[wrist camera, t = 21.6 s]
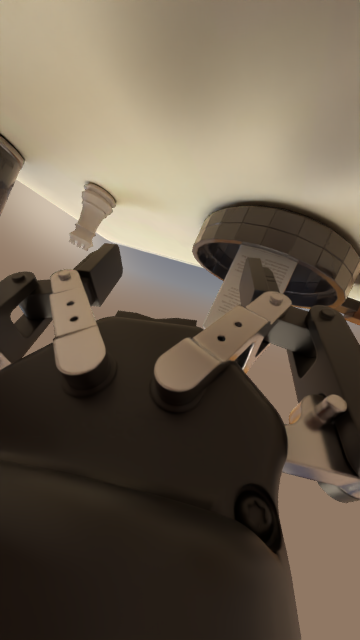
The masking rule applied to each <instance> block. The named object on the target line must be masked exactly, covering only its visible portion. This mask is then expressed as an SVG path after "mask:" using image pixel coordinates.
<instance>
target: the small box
mask: <svg viewBox="0 0 360 640" xmlns="http://www.w3.org/2000/svg"><path fill="white" fill-rule="evenodd" d="M247 257H252V258H260V259H261V263H262V266H263V267H268V268H269V269H270V270H271V271H272V272H273V274H274V277H275V280H276V282H277V285H278V288H279V291H280V293H282V294H283V293H284V291H285V289H286V287H287V285H288V283H289V281H290V278H291V276H292V274H293V272H294V270H295V268H296V265H297V262H294V261H292V260H290V259H288V258H286V257H283V256H280V255H277V254H274V253H272V252H269V251H266V250H263V249H259V248H254V247H250V246H245V245H241V246H240V248H239V250H238V252H237V254H236V256H235V258H234V260H233V263H232V265H231V267H230V269H229V271H228V273H227V275H226V277H225V279H224V282H223V284H222V286H221V288H220V290H219V292H218V294H217V296H216V299H215V301H214V302H213V305H212V307H211V309H210V311H209V313H208V315H207V317H206V319H205V322H204V324H203V327H204V328H207V327H208V326H210V325H211V324H212V323H214V322H215V321H217V320H218V319H219V318H221V317H222V316H223V315H225V314H226V313H227V312H229V311H230V310H231V309H233V308H234V307H236V306H237V305H239V304H240V305H241V302H240V293H239V285H240V280H241V276H242V272H243V269H244V265H245V261H246V258H247Z"/></svg>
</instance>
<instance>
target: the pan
mask: <svg viewBox="0 0 360 640" xmlns="http://www.w3.org/2000/svg"><path fill="white" fill-rule="evenodd" d="M241 245H245V246H250V247H254V248H259V249H263V250H266V251H269V252H272V253H274V254H277V255H280V256H283V257H286V258H288V259H290V260H292V261H294V262H297V265H296V268H295V270H294V272H293V274H292V276H291V278H290V281H289V283H288V285H287V287H286V289H285V291H284V293H283V294H284V295H286V296H287V297H289V299H290V300H291V303H292V304H291V306H294V307H299V308H307V309H310V308H311V307H312V306H315V305H323V306H328V307H331V308H335V307H339V306H341V305H342V304H343V303H344V302H345V301H346V299H347V297H348V295H349V293H350V291H351V289H352V287H353V285H354V283H355V280H356V278H357V276H358V274H359V272H360V257H359V256H358V254H357V253H356V251H355V250H354V248H353V247H352V245H351V244H350V243H349V242H347V241H346V240H345V239H343V238H342V237H341V236H340V235H339V234H338V233H336V232H335V231H333V230H332V229H330V228H329V227H327V226H326V225H324V224H322V223H320V222H318V221H316V220H314V219H312V218H309V217H307V216H304V215H301V214H298V213H295V212H292V211H288V210H284V209H280V208H274V207H268V206H255V205H253V206H238V207H228V208H225V209H222V210H219V211H216V212H214V213H212V214H211V215H210V216H209V217H208V218H207V219H206V220H205V221H204V223H203V226H202V228H201V230H200V232H199V234H198V236H197V239H196V241H195V243H194V245H193V249H192V252H193V255H194V257H195V259H196V260H197V261H198V262H199V263H200V265H201V266H203V267H204V268H205V269H206V270H207V271H209V272H210V273H211V274H213V275H215V276H216V277H218V278H219V279H221V280H223V281H224V279H225V277H226V275H227V273H228V271H229V269H230V267H231V265H232V263H233V260H234V258H235V256H236V254H237V252H238V250H239V248H240V246H241Z"/></svg>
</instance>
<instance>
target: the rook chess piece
mask: <svg viewBox="0 0 360 640" xmlns="http://www.w3.org/2000/svg"><path fill="white" fill-rule="evenodd" d="M84 188H85V190H86V191H83V192H82V199H83V201H82V204H83V207H82V212H81V215H80V219H79V221H78V223H77V224H75V225H76V229H75V231H73V232H71V233H69V235H70V240H69V242H71V243H72V244H75V243H77V247H79V248H80V247H81V246H83V249H84V250H86V251H88V248H90V247H92V246H93V244H92V238H93V237H94V236H96V235H95V232H96V230H97V228H98V226H99V224H100V223H101V221H102V220H103V219H104V218H106V217H107V215H110V214H111V213H112V212H113V210H112V208H114V207H115V206H116V205H115V200H114V198H113V197H112V196H111V195H110V194H109V193H108V192H106V191H105V190H104V189H102V188H101V187H99V186H97V185H95V184H92V183H89V184H86V185H84Z"/></svg>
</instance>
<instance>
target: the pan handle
mask: <svg viewBox="0 0 360 640" xmlns="http://www.w3.org/2000/svg"><path fill="white" fill-rule="evenodd" d="M333 309H335V310H337V311H338V312H340V313H343V314H344V316H343V317H344V319H345V320H347V321H350V322H352V323H355V324H357V325H360V301H357V300H354V299H351V298H348V297H347V299H346V301H345V302H344V303H343V304H342V305H341V306H339V307H335V308H333Z"/></svg>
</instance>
